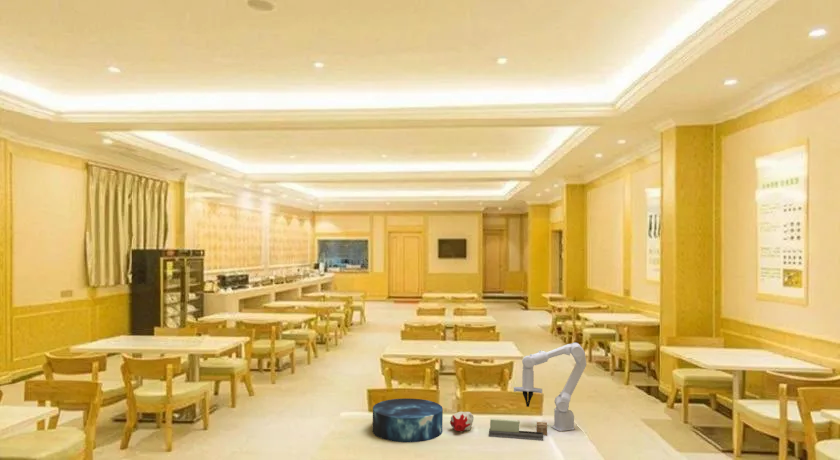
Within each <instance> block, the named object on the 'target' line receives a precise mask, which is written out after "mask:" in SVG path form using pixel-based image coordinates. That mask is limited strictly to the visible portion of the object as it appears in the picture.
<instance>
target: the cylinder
mask: <svg viewBox="0 0 840 460" xmlns="http://www.w3.org/2000/svg"><path fill="white" fill-rule="evenodd" d="M443 410H444V409H443V406H442V405H441V404H439V403H438V402H436V401H431V400H429V399H428V400H427V399H422V398H392V399H386V400H383V401H380V402H377V403H375V404H373V407H372V434H373V435H374V436H376V437H377V438H379V439H382V440H385V441H388V442H394V443H419V442H426V441H427V442H428V441H430V440H434V439H437V438H438V437H440V436H441V435H442V434H443V421H444V420H443V416H444V415H443Z"/></svg>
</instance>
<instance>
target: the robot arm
mask: <svg viewBox="0 0 840 460" xmlns="http://www.w3.org/2000/svg"><path fill="white" fill-rule="evenodd" d="M562 355H567V356H572V357H573V359H574V362H575V364H574V367H573V369H572V371H571V373H569V374H570V375H569V376H568V379H567V381H566V382H565V385H564V386H563V389H562V390H561V391H560V392H559V394H558V395H557V396H556V397H555V398H554V405H555V408H554V409H553V410H554V411H553V414H554V417H553V418H554V419H553V420H554V421H553V424H554V425H550V427H551V428H552V429H554V430H556V431H559V432H563V431H564V432H565V431H572V430H573V431H574V430H576V429H575V415H574V412H573V410H571V409H570V407H569V405H570V402H571V398H572V395H573V393H574V391H575V390H576V387H577V385H578V383H579V381H580V379H581V377H582V375H583V373H584V371H585V370H586V367H587V358H586V352H585V350H584V348H583V347H582V346H581V345H580V344H579V342H572V343H567V344H564V345H561V346H559V347H556V348H554V349H552V350H549V351H546V350H545V351H544V350H538V352H536V353H533V354H532V353H530V354H529V355H525V356H524V357H523V358H522V359H521V361H522V371H521V373H522V377H521V378H522V386H514V387H513V392H514V393H515V392H518V393H519V392H520V393H522V395H523V397H524V401H525V405H526V407H527V408H529V407H530V403H531V401H532V397H533V396H534V393H536V394H537V393H538V394H543V388H538V387H534V375H535V374H534V366H538V365H541V364H544V363H546V362H548V361H549V359H550V358H551V359H552V358H554V357H557V356H562Z"/></svg>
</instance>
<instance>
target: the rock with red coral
mask: <svg viewBox="0 0 840 460" xmlns="http://www.w3.org/2000/svg"><path fill="white" fill-rule="evenodd" d="M449 421H450V422H449V424H450V425H451V426H450V427H452V429H453V430H454V431H455V432H461V433H462V432H466V431H468V432H469V431H470V429H471V428H472V426H473V422H474V415H473V414H472V412H470V411H458V412H455V413H454V414H452V415H451V417H450V420H449Z"/></svg>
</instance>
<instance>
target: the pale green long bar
mask: <svg viewBox="0 0 840 460" xmlns="http://www.w3.org/2000/svg"><path fill="white" fill-rule="evenodd" d="M489 420H490V421H489V429H490V431H503V432H516V433H519V431H520V420H516V419H515V420H514V419H513V420H512V419H498V418H490V419H489Z"/></svg>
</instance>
